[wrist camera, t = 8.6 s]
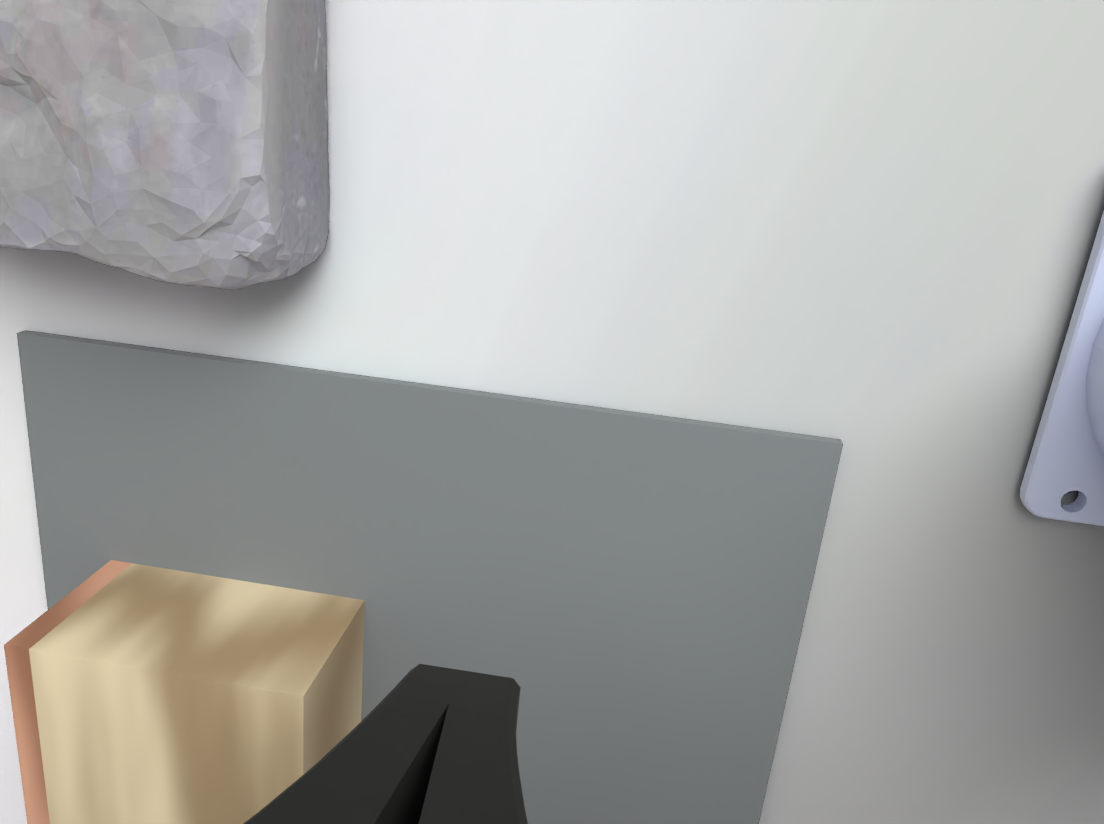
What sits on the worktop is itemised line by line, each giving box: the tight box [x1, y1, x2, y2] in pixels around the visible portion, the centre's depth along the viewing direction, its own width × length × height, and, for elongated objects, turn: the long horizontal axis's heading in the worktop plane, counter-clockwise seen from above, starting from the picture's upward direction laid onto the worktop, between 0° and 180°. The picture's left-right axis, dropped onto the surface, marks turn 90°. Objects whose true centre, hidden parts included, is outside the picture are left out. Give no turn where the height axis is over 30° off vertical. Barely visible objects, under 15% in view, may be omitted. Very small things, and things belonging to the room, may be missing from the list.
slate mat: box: [17, 330, 843, 824], centre depth 24 cm, size 20×16×1 cm
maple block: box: [4, 560, 365, 824], centre depth 22 cm, size 4×6×7 cm
